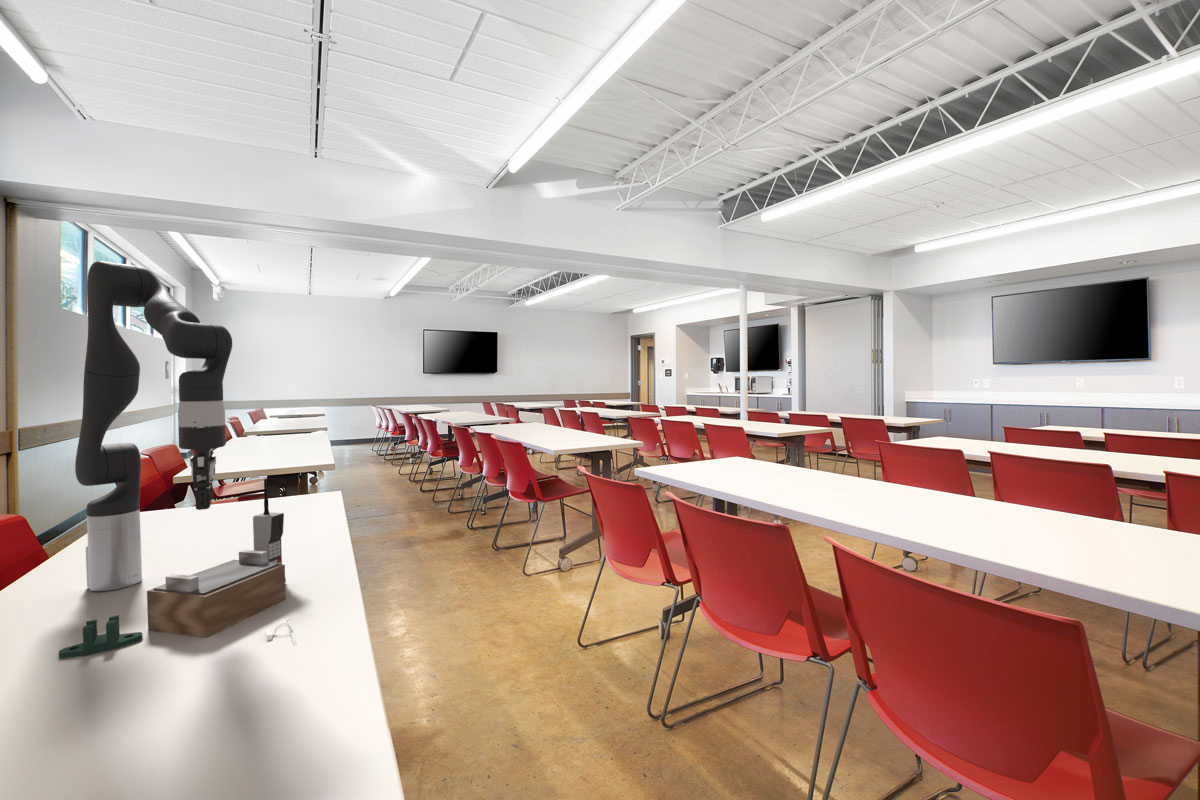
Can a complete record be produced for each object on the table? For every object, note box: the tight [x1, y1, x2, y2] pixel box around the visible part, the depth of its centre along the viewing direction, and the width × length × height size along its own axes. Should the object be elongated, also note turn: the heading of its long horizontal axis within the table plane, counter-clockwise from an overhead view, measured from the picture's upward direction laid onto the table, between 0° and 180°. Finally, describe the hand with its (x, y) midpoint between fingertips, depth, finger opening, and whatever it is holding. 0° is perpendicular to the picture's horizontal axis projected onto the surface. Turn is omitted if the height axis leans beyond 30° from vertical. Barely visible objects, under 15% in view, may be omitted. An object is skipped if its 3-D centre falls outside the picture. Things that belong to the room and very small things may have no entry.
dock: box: [146, 549, 287, 638], centre depth 108 cm, size 14×18×10 cm
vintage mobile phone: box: [252, 478, 287, 584], centre depth 124 cm, size 4×5×25 cm
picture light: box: [265, 617, 297, 646], centre depth 99 cm, size 14×4×2 cm, turn 35°
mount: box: [58, 614, 144, 660], centre depth 95 cm, size 11×4×5 cm, turn 126°
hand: (204, 504), depth 106 cm, fingers open, 8 cm apart
